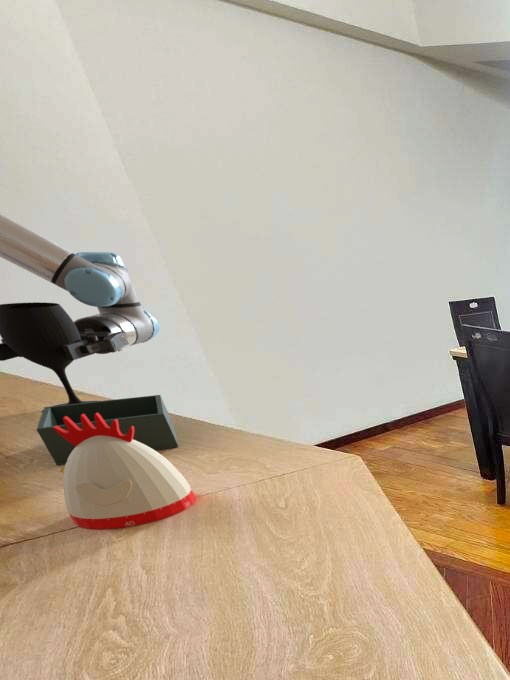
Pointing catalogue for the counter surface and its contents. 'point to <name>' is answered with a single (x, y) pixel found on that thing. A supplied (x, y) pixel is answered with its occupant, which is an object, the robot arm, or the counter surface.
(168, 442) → the bin
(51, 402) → the counter surface
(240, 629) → the counter surface
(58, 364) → the wine glass
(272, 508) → the counter surface
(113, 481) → the kitchen timer
